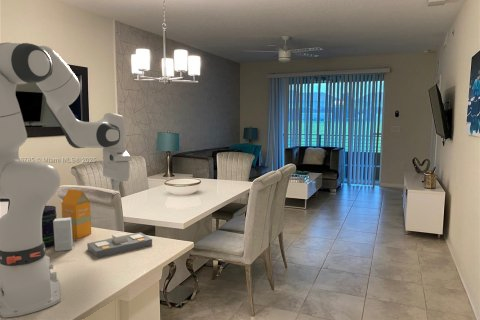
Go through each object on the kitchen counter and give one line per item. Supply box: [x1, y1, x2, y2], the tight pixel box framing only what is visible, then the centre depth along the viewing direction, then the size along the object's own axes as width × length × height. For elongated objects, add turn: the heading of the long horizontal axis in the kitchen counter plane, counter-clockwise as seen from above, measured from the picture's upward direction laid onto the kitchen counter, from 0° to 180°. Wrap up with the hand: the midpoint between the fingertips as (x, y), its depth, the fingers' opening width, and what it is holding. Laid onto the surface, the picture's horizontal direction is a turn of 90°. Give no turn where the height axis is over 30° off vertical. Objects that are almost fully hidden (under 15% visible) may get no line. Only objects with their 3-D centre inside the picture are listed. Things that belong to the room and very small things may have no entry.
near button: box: [94, 241, 110, 248], centre depth 141 cm, size 4×4×3 cm
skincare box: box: [53, 217, 74, 252], centre depth 142 cm, size 6×4×12 cm
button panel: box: [87, 232, 153, 259], centre depth 145 cm, size 11×22×3 cm, turn 129°
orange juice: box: [60, 189, 92, 239], centre depth 158 cm, size 8×9×20 cm
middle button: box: [111, 231, 128, 244], centre depth 145 cm, size 4×4×3 cm
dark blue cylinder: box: [42, 205, 57, 249], centre depth 146 cm, size 10×10×15 cm
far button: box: [129, 234, 144, 240], centre depth 149 cm, size 4×4×3 cm
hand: (115, 189), depth 144 cm, fingers closed
